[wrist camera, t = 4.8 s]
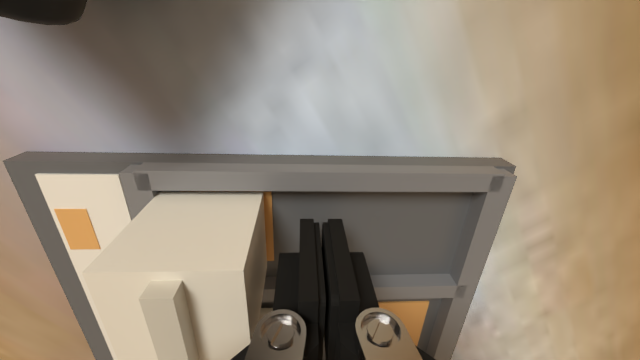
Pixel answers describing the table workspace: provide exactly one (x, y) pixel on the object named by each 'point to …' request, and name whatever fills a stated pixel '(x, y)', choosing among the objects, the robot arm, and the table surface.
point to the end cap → (43, 11)
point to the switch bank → (288, 220)
